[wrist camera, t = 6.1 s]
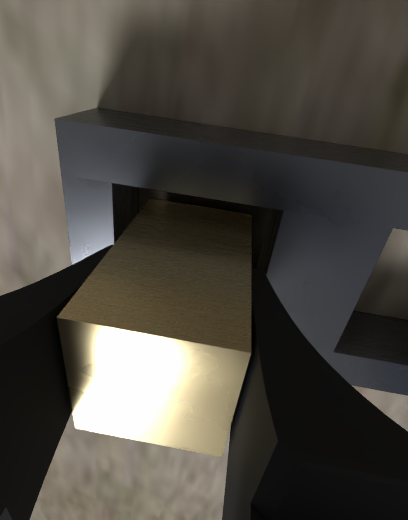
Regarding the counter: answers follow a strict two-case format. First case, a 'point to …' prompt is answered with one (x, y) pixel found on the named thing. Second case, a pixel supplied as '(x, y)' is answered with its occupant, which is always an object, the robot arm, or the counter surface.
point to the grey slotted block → (279, 222)
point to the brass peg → (163, 329)
